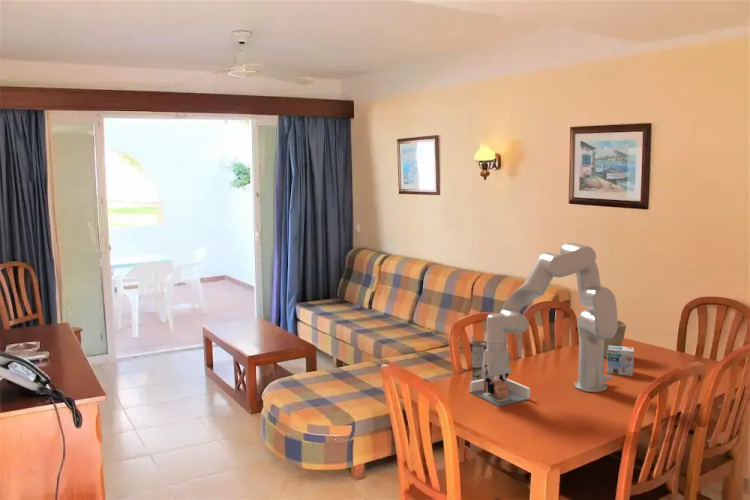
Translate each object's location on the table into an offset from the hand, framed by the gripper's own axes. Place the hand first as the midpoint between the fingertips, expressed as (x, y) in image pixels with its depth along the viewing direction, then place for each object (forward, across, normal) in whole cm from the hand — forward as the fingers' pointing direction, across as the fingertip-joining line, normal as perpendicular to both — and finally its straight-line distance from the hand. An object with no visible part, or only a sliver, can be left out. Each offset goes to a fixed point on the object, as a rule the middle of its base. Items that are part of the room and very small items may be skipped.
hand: (496, 391), depth 249 cm
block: (+1, 0, 0) cm, 1 cm away
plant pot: (+3, -79, -16) cm, 81 cm away
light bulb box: (+3, -65, +3) cm, 65 cm away
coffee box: (+3, -7, -19) cm, 20 cm away
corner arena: (+3, -2, -1) cm, 4 cm away
